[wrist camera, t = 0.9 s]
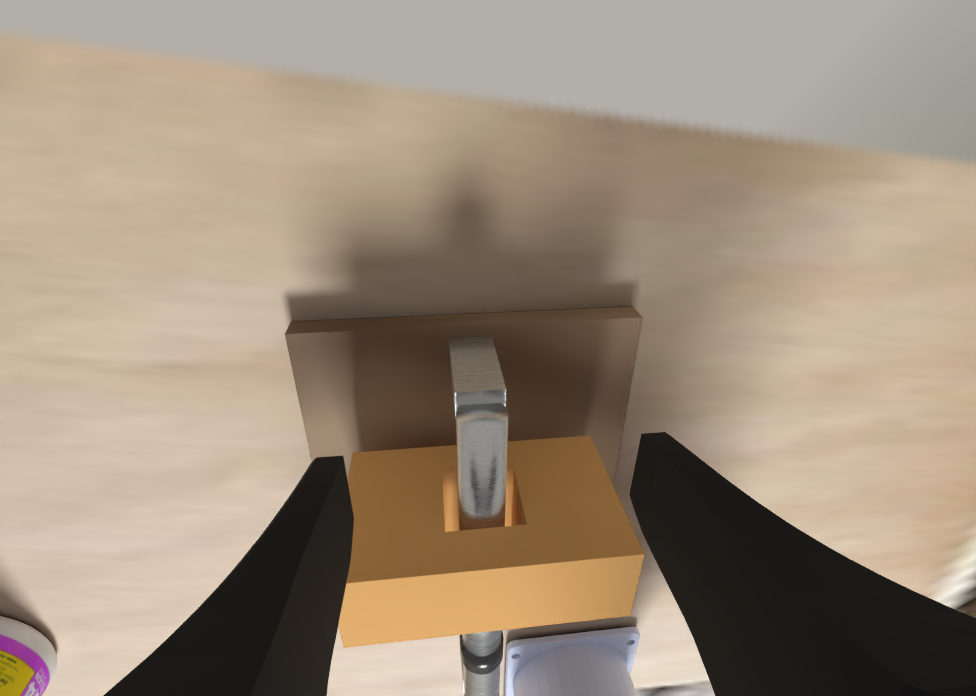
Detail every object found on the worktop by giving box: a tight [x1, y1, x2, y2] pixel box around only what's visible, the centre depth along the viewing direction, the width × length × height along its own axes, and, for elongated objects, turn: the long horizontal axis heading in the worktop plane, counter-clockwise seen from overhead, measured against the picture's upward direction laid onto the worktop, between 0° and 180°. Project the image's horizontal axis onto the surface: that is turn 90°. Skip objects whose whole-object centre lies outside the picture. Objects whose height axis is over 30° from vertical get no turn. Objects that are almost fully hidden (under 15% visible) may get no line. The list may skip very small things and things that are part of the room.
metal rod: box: [449, 337, 509, 696], centre depth 21 cm, size 17×2×5 cm, turn 0°
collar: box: [338, 436, 645, 648], centre depth 18 cm, size 3×9×6 cm, turn 90°
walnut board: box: [285, 307, 642, 485], centre depth 23 cm, size 18×13×1 cm
